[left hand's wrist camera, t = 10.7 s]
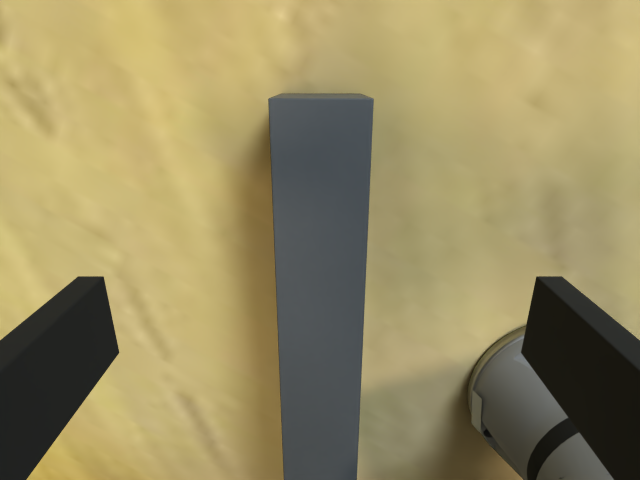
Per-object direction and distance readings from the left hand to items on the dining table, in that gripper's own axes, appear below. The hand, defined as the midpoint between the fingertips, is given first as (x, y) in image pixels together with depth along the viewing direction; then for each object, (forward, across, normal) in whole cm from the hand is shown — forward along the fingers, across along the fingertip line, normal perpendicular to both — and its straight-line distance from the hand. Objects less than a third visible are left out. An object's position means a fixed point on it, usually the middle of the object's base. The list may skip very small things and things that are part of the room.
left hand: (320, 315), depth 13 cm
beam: (+21, 0, -24) cm, 32 cm away
